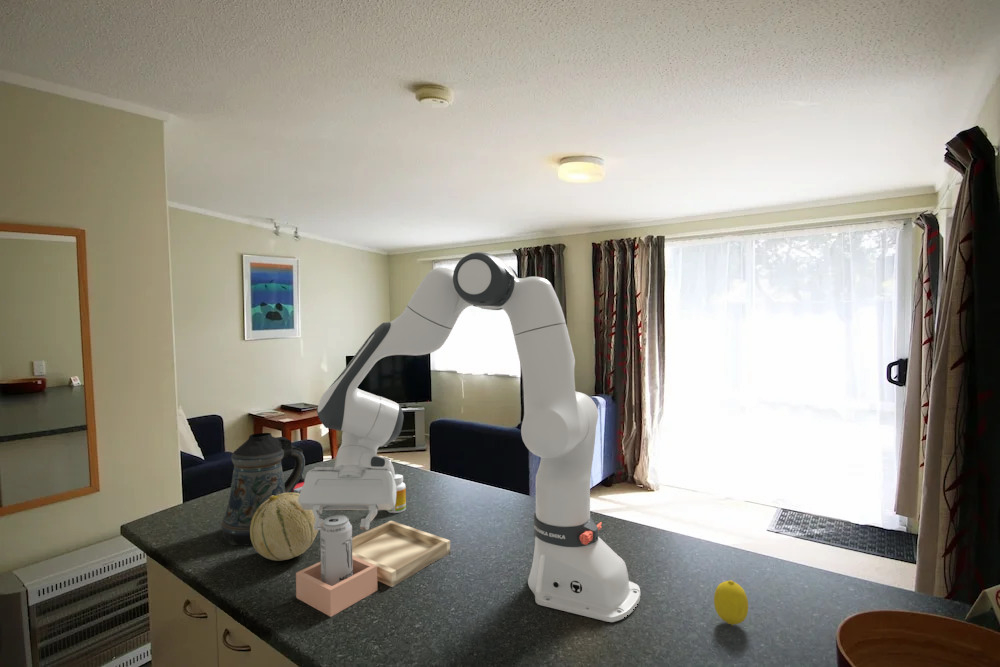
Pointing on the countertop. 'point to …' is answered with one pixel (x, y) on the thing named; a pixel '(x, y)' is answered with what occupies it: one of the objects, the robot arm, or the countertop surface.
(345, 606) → the frame
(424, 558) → the tray
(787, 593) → the countertop surface
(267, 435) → the beer stein
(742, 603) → the lemon
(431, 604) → the countertop surface
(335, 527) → the energy drink can
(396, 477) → the supplement bottle
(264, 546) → the cantaloupe
